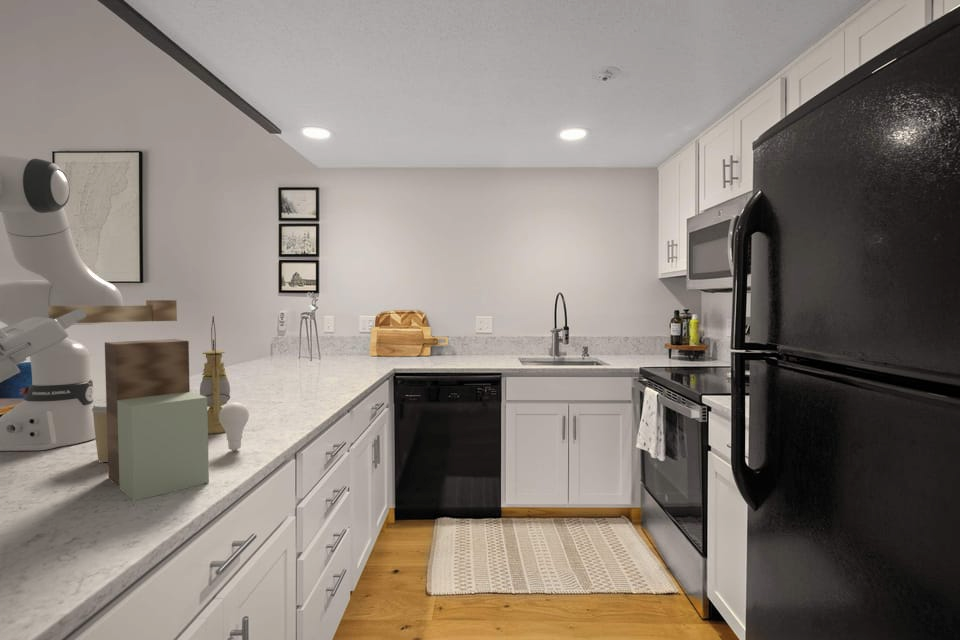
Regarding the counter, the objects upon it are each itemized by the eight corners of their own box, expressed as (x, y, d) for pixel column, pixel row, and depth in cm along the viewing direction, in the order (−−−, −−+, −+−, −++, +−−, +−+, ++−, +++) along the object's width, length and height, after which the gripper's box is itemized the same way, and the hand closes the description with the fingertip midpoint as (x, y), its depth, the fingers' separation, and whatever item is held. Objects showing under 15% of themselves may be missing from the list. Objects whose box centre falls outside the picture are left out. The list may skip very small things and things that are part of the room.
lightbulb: (237, 455, 114) (236, 405, 114) (213, 454, 115) (212, 404, 115) (255, 447, 120) (254, 400, 120) (231, 446, 121) (230, 399, 121)
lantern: (192, 427, 140) (189, 315, 139) (232, 423, 145) (230, 315, 144) (194, 437, 129) (191, 316, 128) (237, 432, 134) (235, 316, 133)
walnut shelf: (119, 488, 94) (115, 344, 93) (108, 478, 100) (104, 342, 99) (191, 471, 103) (188, 340, 102) (177, 463, 109) (174, 339, 108)
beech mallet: (52, 323, 88) (52, 300, 88) (48, 323, 91) (47, 300, 91) (176, 320, 102) (176, 300, 102) (169, 320, 105) (168, 300, 105)
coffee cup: (140, 449, 119) (139, 397, 119) (150, 457, 113) (149, 402, 112) (89, 457, 113) (88, 402, 112) (97, 467, 106) (95, 408, 106)
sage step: (133, 500, 88) (131, 407, 88) (119, 488, 94) (117, 400, 94) (208, 482, 97) (207, 397, 96) (191, 472, 103) (189, 391, 103)
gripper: (-19, 342, 76) (81, 295, 84) (-30, 336, 90) (58, 296, 98) (11, 377, 78) (106, 328, 87) (-4, 366, 92) (79, 325, 101)
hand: (80, 311), depth 93 cm, fingers closed on beech mallet, 3 cm apart
